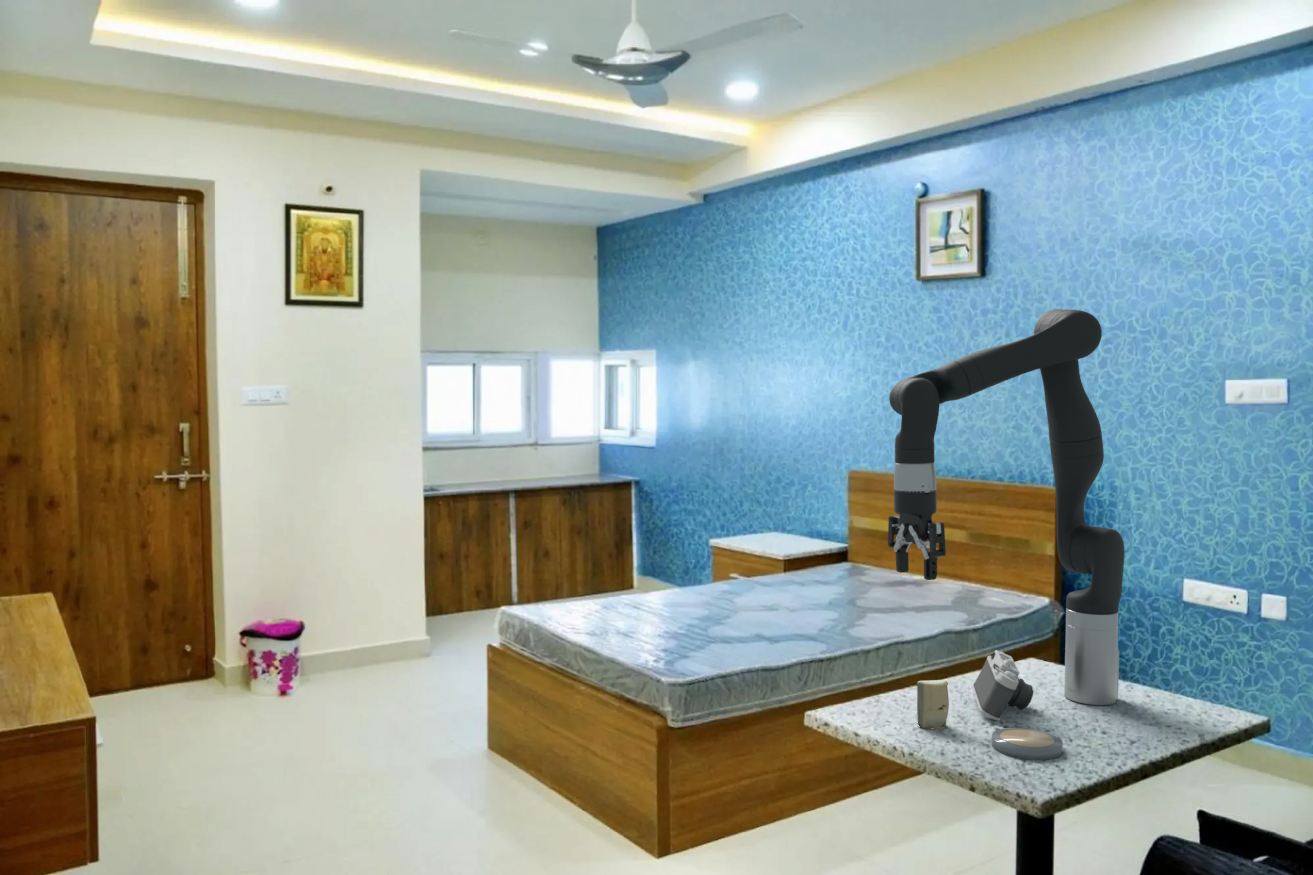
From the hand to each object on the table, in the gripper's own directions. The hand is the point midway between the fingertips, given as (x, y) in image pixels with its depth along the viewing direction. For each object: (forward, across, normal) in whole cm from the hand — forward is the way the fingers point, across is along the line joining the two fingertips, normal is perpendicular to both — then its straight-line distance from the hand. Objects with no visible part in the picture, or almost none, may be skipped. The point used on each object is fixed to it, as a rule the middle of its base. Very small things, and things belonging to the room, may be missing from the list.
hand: (916, 575), depth 182 cm
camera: (+26, +4, +16) cm, 31 cm away
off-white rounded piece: (+26, +8, -2) cm, 27 cm away
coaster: (+26, +22, +6) cm, 34 cm away
